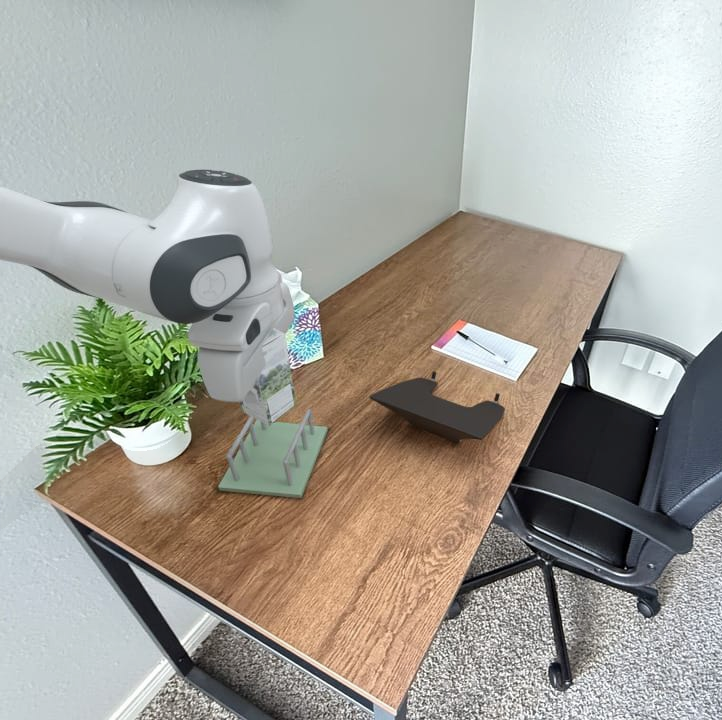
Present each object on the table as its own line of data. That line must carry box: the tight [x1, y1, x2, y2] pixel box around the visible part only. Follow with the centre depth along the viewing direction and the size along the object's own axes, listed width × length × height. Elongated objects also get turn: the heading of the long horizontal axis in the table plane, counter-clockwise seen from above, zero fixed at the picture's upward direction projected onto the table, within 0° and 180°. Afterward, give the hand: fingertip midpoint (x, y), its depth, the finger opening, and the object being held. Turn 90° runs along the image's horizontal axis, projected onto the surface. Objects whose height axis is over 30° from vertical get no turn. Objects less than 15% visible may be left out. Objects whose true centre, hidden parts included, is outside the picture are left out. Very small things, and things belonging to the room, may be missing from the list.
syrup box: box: [239, 328, 297, 426], centre depth 68 cm, size 6×6×14 cm
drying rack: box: [217, 408, 329, 499], centre depth 84 cm, size 16×14×7 cm
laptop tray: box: [369, 370, 506, 444], centre depth 95 cm, size 23×23×9 cm
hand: (265, 380), depth 68 cm, fingers closed on syrup box, 7 cm apart
